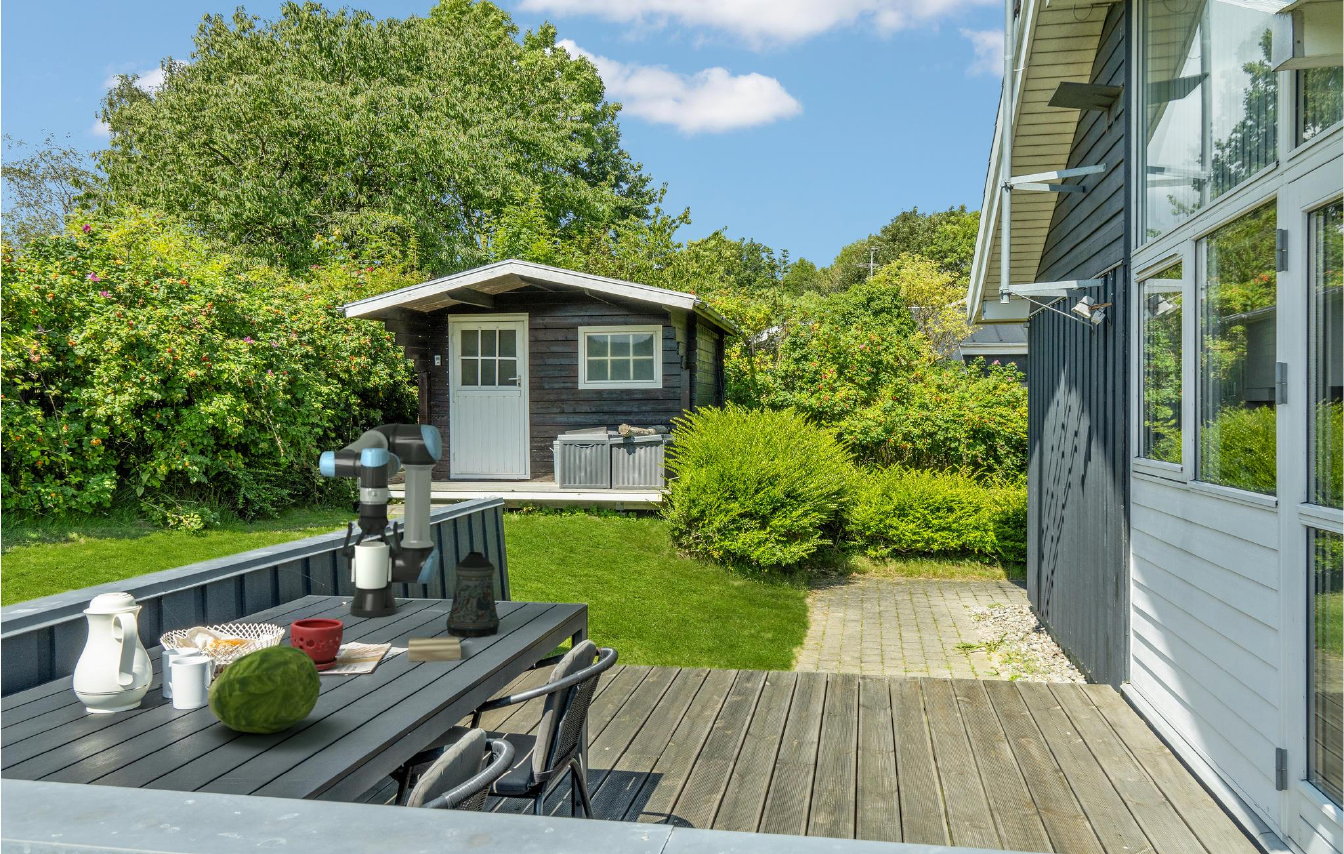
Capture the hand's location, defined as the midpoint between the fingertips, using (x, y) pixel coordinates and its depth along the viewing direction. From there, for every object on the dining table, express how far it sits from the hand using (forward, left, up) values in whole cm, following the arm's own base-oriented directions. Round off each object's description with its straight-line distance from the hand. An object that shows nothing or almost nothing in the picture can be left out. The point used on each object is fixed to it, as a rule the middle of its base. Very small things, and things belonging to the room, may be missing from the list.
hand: (371, 580), depth 261 cm
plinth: (+5, +18, -21) cm, 28 cm away
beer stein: (-22, +30, -21) cm, 42 cm away
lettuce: (+61, -20, -21) cm, 68 cm away
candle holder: (0, 0, -2) cm, 2 cm away
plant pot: (+13, -13, -21) cm, 28 cm away
